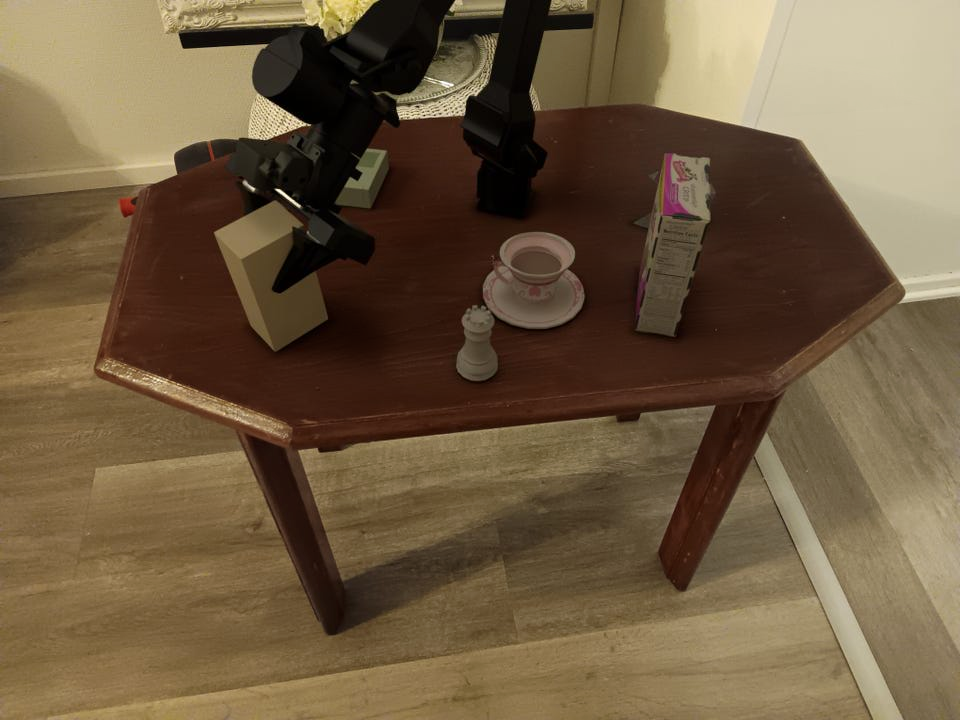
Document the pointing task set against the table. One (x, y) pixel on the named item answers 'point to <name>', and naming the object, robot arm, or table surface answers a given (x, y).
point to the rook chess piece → (477, 346)
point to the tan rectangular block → (270, 275)
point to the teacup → (534, 282)
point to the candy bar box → (673, 243)
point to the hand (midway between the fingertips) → (257, 275)
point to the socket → (365, 180)
